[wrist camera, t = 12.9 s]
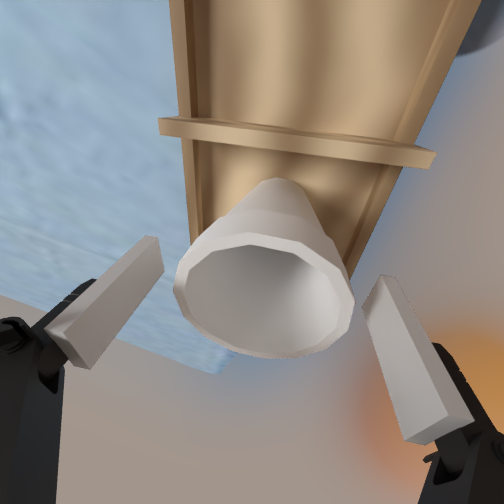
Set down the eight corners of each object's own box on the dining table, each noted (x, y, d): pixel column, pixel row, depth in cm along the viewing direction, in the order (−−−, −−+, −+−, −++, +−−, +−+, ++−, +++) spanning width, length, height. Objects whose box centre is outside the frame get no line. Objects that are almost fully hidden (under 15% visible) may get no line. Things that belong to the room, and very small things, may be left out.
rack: (200, 246, 28) (179, 277, 23) (175, -177, 12) (89, -372, 7) (342, 271, 26) (352, 310, 21) (537, -179, 10) (755, -435, 5)
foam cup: (216, 215, 24) (151, 309, 13) (265, 136, 18) (222, 188, 8) (285, 261, 25) (277, 374, 15) (347, 201, 20) (400, 310, 10)
